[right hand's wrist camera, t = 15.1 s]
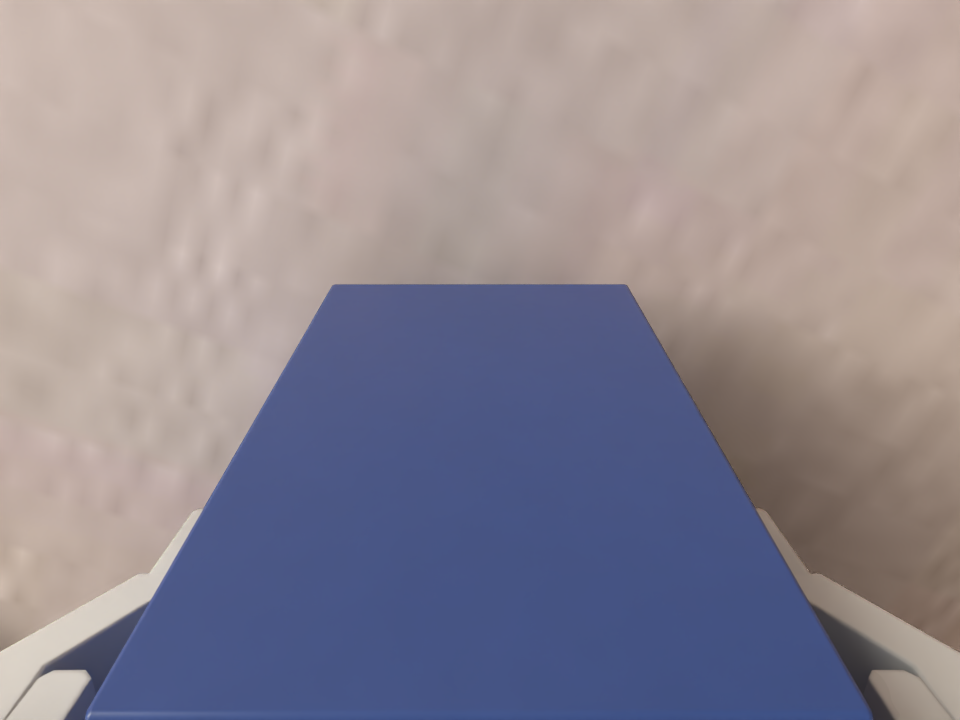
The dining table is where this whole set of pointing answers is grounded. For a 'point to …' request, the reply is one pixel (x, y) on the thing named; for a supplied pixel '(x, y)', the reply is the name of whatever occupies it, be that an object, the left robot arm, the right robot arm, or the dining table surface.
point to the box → (479, 535)
